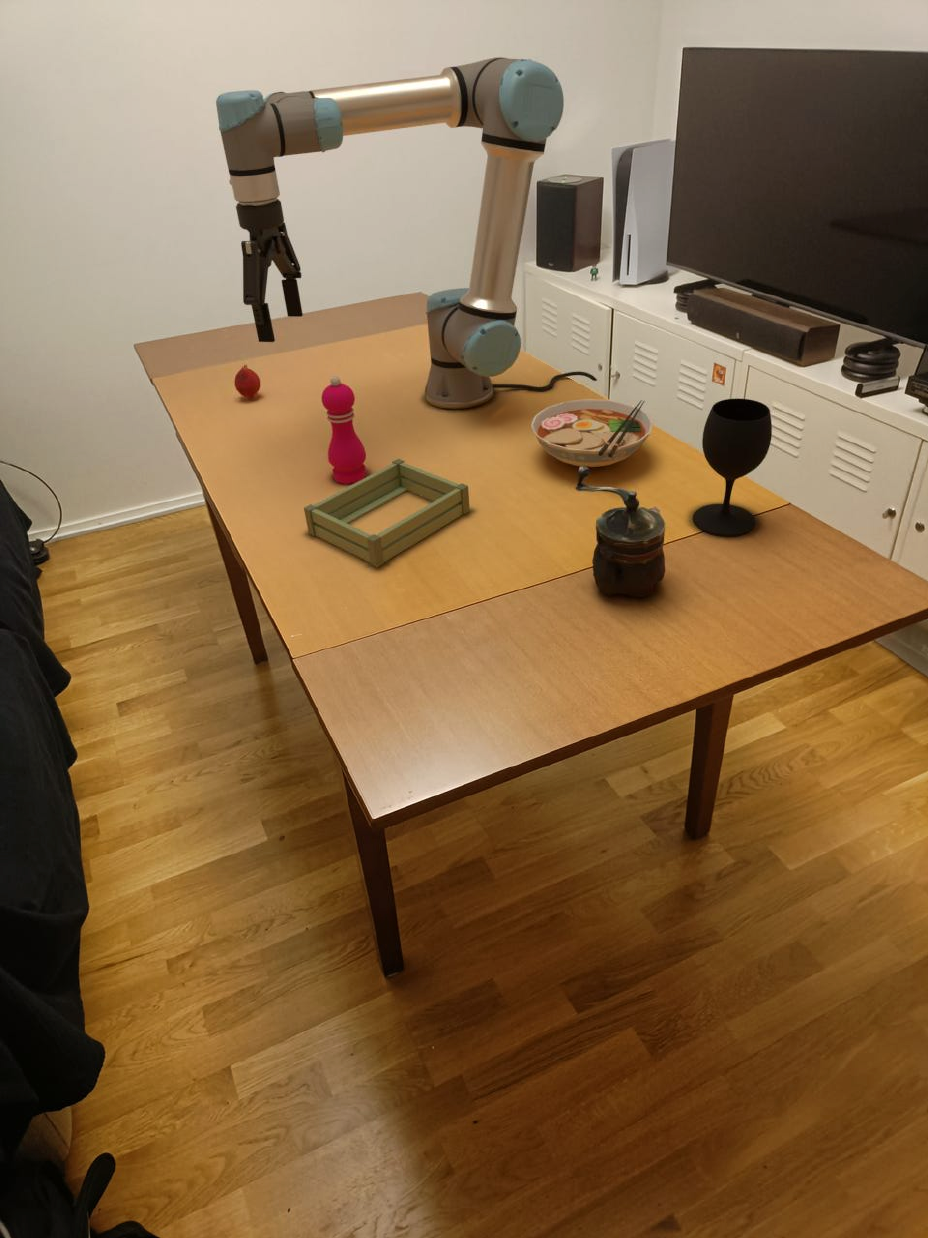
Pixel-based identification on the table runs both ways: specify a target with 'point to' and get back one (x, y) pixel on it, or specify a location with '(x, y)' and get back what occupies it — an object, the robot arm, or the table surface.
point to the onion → (247, 382)
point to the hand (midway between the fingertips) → (281, 328)
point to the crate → (376, 490)
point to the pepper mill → (343, 434)
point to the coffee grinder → (627, 545)
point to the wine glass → (733, 459)
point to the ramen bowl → (591, 431)
